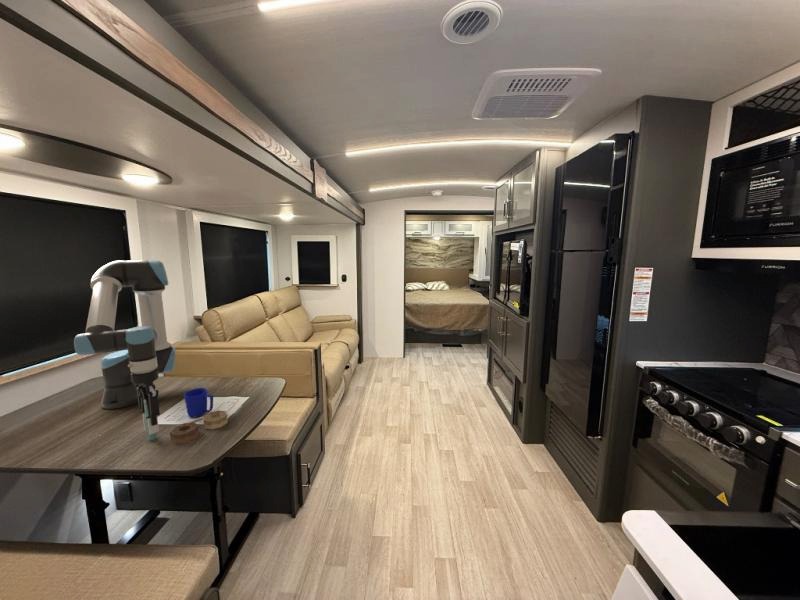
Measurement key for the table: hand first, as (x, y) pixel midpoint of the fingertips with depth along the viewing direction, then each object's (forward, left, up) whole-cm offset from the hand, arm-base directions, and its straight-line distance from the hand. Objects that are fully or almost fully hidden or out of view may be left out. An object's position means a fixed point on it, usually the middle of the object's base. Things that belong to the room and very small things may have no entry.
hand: (151, 430), depth 114 cm
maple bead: (+9, +18, -3) cm, 20 cm away
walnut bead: (+9, +7, -3) cm, 12 cm away
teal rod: (0, 0, -3) cm, 3 cm away
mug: (-3, +18, -3) cm, 19 cm away
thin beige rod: (0, +14, -3) cm, 14 cm away
